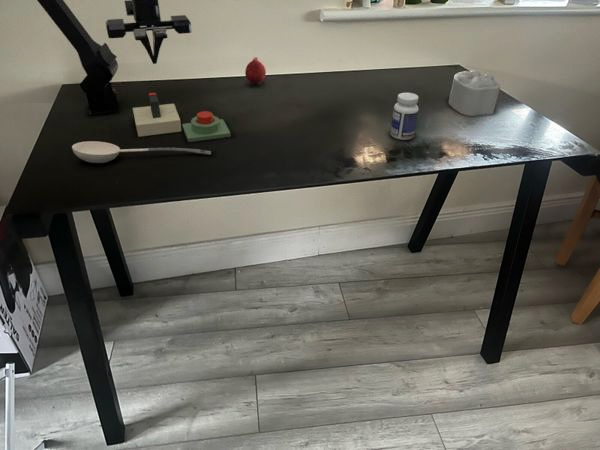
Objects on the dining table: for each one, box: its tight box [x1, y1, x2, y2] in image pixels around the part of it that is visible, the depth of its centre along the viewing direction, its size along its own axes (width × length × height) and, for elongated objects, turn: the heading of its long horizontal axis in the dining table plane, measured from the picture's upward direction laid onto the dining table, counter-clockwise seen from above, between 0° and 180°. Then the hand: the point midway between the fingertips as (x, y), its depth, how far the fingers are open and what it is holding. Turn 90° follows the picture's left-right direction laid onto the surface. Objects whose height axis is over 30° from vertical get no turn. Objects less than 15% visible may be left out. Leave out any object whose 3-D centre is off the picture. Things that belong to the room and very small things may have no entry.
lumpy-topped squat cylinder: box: [448, 69, 501, 117], centre depth 132 cm, size 10×13×9 cm
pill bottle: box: [389, 92, 419, 141], centre depth 115 cm, size 6×6×10 cm
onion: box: [244, 56, 267, 86], centre depth 139 cm, size 6×6×8 cm
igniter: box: [181, 114, 232, 143], centre depth 116 cm, size 10×8×3 cm
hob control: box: [132, 103, 183, 138], centre depth 118 cm, size 10×10×3 cm
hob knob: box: [147, 92, 161, 118], centre depth 116 cm, size 5×2×4 cm, turn 19°
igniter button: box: [196, 110, 214, 125], centre depth 114 cm, size 4×4×2 cm
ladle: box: [71, 140, 212, 164], centre depth 105 cm, size 6×28×5 cm, turn 101°
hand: (154, 63), depth 119 cm, fingers closed
